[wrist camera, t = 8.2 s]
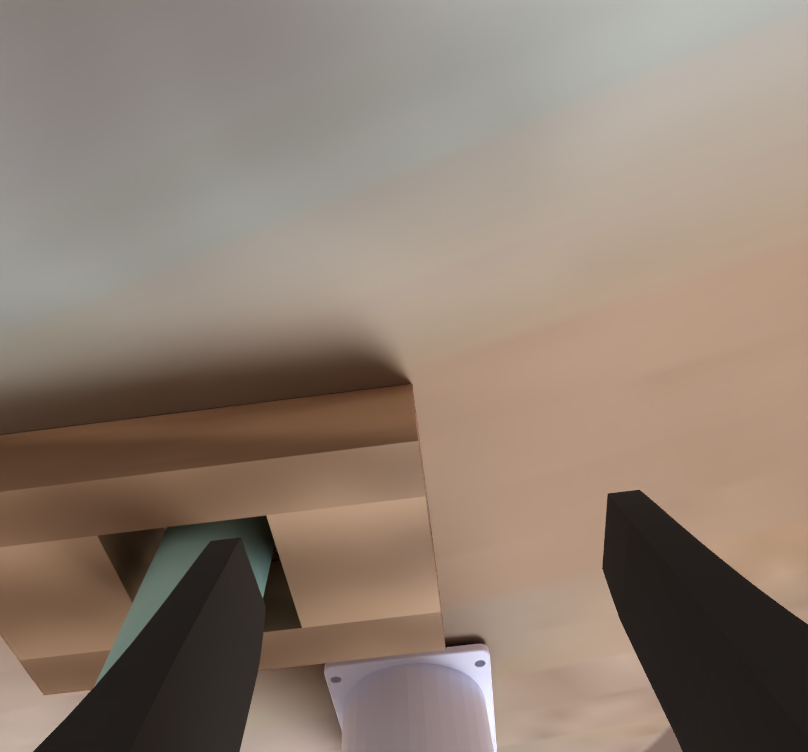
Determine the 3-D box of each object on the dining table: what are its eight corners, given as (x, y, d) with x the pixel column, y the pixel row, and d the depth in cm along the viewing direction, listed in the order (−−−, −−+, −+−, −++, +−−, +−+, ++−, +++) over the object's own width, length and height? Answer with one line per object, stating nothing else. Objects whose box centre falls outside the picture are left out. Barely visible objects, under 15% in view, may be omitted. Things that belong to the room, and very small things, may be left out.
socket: (437, 577, 25) (445, 649, 22) (84, 618, 25) (44, 695, 22) (412, 383, 20) (418, 440, 17) (-24, 438, 20) (-95, 503, 17)
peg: (289, 543, 24) (251, 744, 17) (196, 554, 24) (118, 758, 17) (267, 468, 22) (214, 660, 15) (165, 480, 22) (64, 676, 15)
